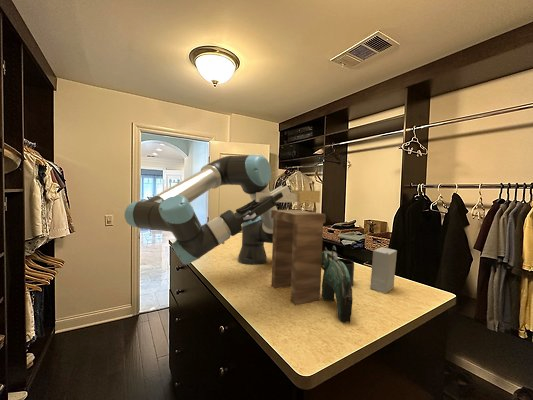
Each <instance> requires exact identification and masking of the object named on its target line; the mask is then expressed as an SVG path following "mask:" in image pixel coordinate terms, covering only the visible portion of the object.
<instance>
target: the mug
mask: <svg viewBox="0 0 533 400" xmlns="http://www.w3.org/2000/svg"><path fill="white" fill-rule="evenodd" d="M338 260H340V261H341V262H343V263H344V264H345V266H346V267H347V270H349V275H350V279H351V285H352V286H353V285H354V278H355V276H354V274H355V273H354V272H355V262H354V261H353V260H351V259H346V258H339V257H338Z"/></svg>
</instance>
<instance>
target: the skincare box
mask: <svg viewBox="0 0 533 400" xmlns="http://www.w3.org/2000/svg"><path fill="white" fill-rule="evenodd" d="M397 254H398V250H396V249H392V248H389V247H384V246H382V247H379V248H376V249H373V250H372V262H371V263H372V264H371V275H370V290H373V291H377V292H379V293H383V294H388V293H389V292H390V291H391V290H393V289H394V288H395V287H394V286H395V273H396V264H397Z"/></svg>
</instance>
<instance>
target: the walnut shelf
mask: <svg viewBox="0 0 533 400" xmlns="http://www.w3.org/2000/svg"><path fill="white" fill-rule="evenodd" d="M326 217H327V215H326V213H320V212H315V211H314V212H313V211H307V210H301V209H277V210H271V218H273V243H272V249H271V250H272V252H271V253H272V255H271V285H270V286H271V287H272V288H273V289H275V290H277V289H282V288H283V289H285V288H290V303H291V304H292V305H294V306H301V305H305V304H311V303H316V302H321V291H322V268H321V264H322V252H323V238H324V237H323V236H324V235H323V234H324V233H323V232H324V224H326V221H327V220H326V219H327V218H326Z"/></svg>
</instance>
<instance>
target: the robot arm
mask: <svg viewBox="0 0 533 400" xmlns="http://www.w3.org/2000/svg"><path fill="white" fill-rule="evenodd" d="M271 167H272V166H271V164H270V161H268V158H267V157H265V156H263V155H260V154H247V155H227V156H223V157H220V158H217V159H216V160H213V161H211V162H210V163H208V164H205V165H204V166H202V167H201V169H200V171H198V172H197V173H194V174H192V175H191V176H189V177H188V178H186V179H184V180H182V181H180V182H178V183H176V184H175V185H173V186H171V187H169V188H167V189H165V190H164V191H161V192H160V193H158V194H155V195H154V196H153V197H150V198H148V199H147V200H145V201H142V200H138V201H133V202H131V203H129V204H128V205H127V206H126V207H125V210H124V219H125V222H126V223H127V224H128V225H129V226H131V227H134V228H138V229H140V230H141V229H142V230H143V229H146V230H155V231H161V232H170V233H172V235H173V237H174V238H175V239H176V240H175V241H173V242H172V244H171V247H172V249H173V251H174V252H175V254H176V256H177V258H179V260H180V262H181V264H183V265H184V266H186V265H190V264H191V263H193V262H195V261H197V260H199V259H200V258H202V257H203V256H204V255H205V256H206V254H207V253H209V252H210V251H212V250H214V249H215V248H216V247H218V246H220V245H221V244H222V245H225V244H226V243H225V242H226V241H227V240H229V239H230V238H231V237H234V236H237V235H238V234H239V233H241V248H240V251H239V253H238V257H237V258H238V262H239V263H241V264H246V265H259V264H260V265H262V264H265V263H266V262H267V261H268V256H267V253H266V250H265V243H268V244H273V218H271V210H278V208H277V203H278V202H277V201H279V200H281V199H282V198H284V197H285V196H287V195H289V194H290V193H292V191H291V190H290V188H289V186H288V185H285V186H284V187H283V185H280V186H278V187H277V188H275V189H273V190H272V191H271V190H270V188H269V185H270V182H271V178H272V171H271V170H272V168H271ZM226 185H227V186H240V187H241V189H242V191H243V192H244V193H245V194H247V195H249V197H250V199H251V201H249V202H248V203H246V204H244V205H243V206H240V207H238V208H237V209H235V212H234V211H232V210H231V209H228V210H226V211H224V212H223V213H221V214H220V215H219V216H216V217H214V218H212V219H211V220H209V221H207V222H206V223H204V224H201V222H200V220H199V219H198V216H197V214H196V212H195V211H194V208H193V205H191V202H193V201H195V200H196V199H198V198H199V197H201V196H202V195H204V194H205V193H206V192H208V191H210V190H211V189H214V190H215V189H217V188H219V187H221V186H226ZM256 192H260V193H274V194H272V195H271V196H270V197H269V198H267V199H265V200H263V201H262V202H256Z"/></svg>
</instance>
